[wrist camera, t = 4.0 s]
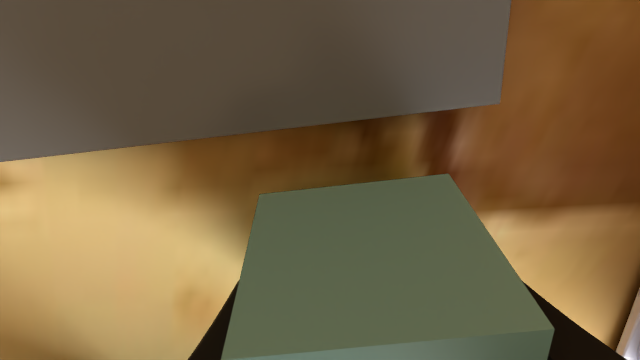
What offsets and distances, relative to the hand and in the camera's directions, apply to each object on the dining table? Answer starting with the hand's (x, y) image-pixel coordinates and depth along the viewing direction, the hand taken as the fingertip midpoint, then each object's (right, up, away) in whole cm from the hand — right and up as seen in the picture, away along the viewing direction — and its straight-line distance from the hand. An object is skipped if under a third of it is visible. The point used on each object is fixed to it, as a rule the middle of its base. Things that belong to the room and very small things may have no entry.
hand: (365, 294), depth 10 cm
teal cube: (0, +1, +1) cm, 2 cm away
